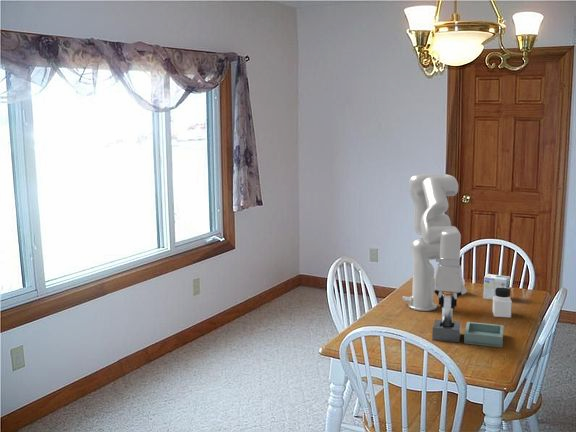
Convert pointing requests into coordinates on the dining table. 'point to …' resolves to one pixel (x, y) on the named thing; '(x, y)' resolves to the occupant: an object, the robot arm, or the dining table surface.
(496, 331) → the tray
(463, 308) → the dining table surface
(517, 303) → the dining table surface
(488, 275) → the light bulb box
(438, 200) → the robot arm
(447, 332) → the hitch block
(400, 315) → the dining table surface
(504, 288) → the medicine bottle
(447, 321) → the pin
